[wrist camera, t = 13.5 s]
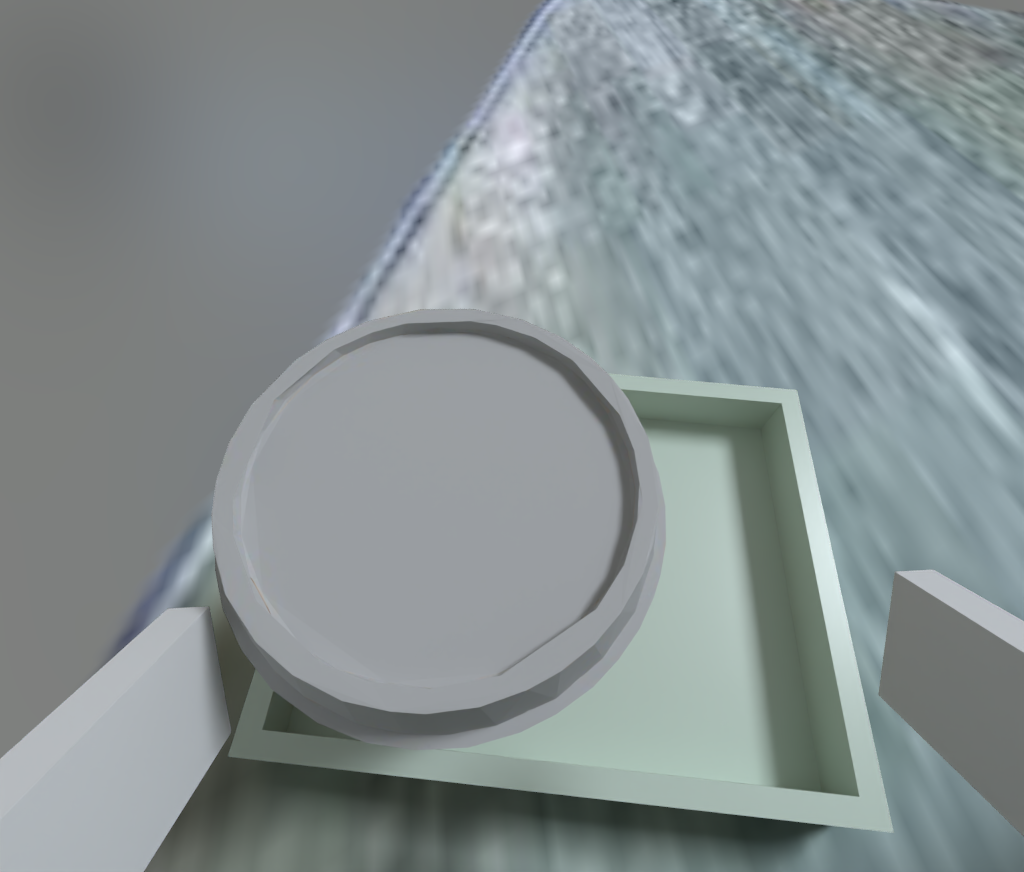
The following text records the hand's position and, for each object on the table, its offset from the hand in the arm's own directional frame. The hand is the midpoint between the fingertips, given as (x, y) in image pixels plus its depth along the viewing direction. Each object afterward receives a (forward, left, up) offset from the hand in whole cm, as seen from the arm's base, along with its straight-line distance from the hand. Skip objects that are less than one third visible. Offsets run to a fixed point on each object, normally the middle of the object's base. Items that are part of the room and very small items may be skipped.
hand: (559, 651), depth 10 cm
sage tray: (-1, -5, -11) cm, 12 cm away
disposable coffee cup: (+3, -3, -11) cm, 11 cm away
